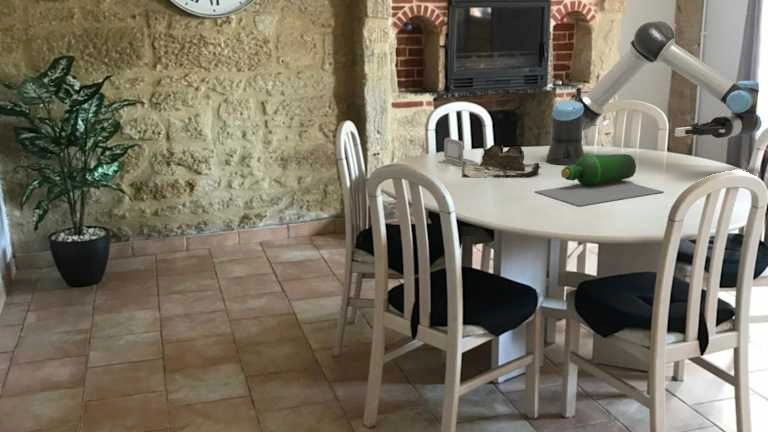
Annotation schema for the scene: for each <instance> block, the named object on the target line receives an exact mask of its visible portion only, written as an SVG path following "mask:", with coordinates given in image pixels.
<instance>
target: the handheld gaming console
mask: <svg viewBox="0 0 768 432" xmlns="http://www.w3.org/2000/svg"><path fill="white" fill-rule="evenodd" d="M443 143H444V144H443V150H444V151H443V153H444V154H443V159H442V161H443V162H444V163H447V164H450V165H453V166H456V167H458V168H463V162H464V161H465V162H466V163H467V164H468V165H479V162H478V161H475V160H473V159H470V158H465V157H464V156H465V155H464V143H463V141H462V140H457V139H455V138H454V139H453V138H450V137H446V138H444V141H443Z"/></svg>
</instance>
